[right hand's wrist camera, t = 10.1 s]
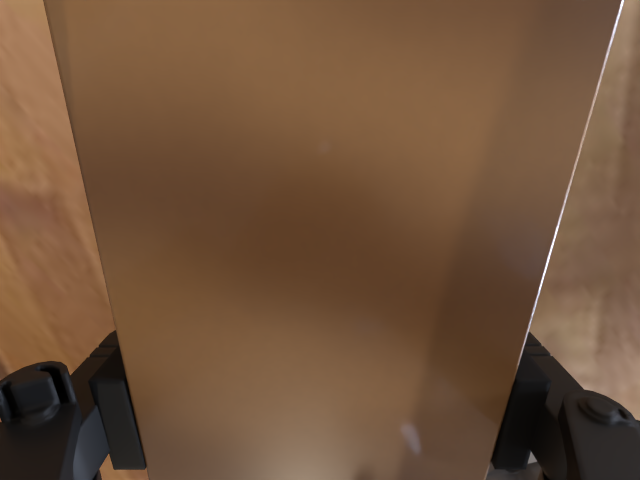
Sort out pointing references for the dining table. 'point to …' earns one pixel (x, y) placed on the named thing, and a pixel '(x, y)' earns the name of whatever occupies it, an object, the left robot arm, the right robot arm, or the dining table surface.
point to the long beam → (326, 218)
